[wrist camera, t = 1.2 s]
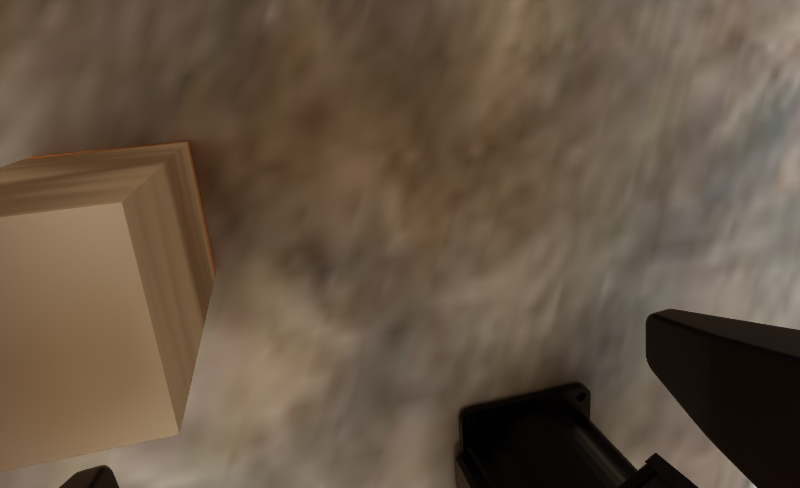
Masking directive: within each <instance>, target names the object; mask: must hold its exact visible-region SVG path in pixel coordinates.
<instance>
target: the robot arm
mask: <svg viewBox="0 0 800 488" xmlns="http://www.w3.org/2000/svg"><path fill="white" fill-rule="evenodd" d="M646 358H647V362H648V364H649V366H650V368H651V370H652V371H653V372H654V373H655V375H656V376H657V377H658V378H659V379H660V381H661V382H662V383H663V384H664V386H665V387H666V388H667V389H668V390H669V392H670V393H671V394H672V395H673V396H674V398H675V399H676V400H677V401H678V403H679V404H680V405H681V406H682V407H683V409H684V410H685V411H686V412H687V414H688V415H689V416H690V417H691V418H692V420H693V421H694V422H695V423H696V424H697V426H698V427H699V428H700V429H701V430H702V431H703V433H704V434H705V435H706V436H707V437H708V438H709V439H710V440H711V441H712V442H713V443H714V444H715V446H716V447H717V448H718V449H719V450H720V451H721V452H722V453H723V454H724V455H725V456H726V457H727V458H728V459H729V460H730V461H731V462H732V463H733V464H734V465H735V466H736V467H737V468H738V469H739V470H740V471H741V472H742V473H743V474H744V475H745V476H746V477H747V478H748V479H749V480H750V481H751V482H752V483H753V484H754V485H755V486H756V487H757V488H800V330H796V329H790V328H784V327H778V326H772V325H766V324H760V323H754V322H748V321H742V320H736V319H730V318H724V317H718V316H712V315H706V314H700V313H694V312H688V311H682V310H676V309H666V310H663V311H659V312H656V313H652V314H650V315H649V316H648V317H647V319H646ZM579 393H581V394H580V395H579V396H578V397H577V395H578V394H579ZM471 417H474V419H473V420H472V421H470V422H467V421H468V419H469V418H471ZM459 429H460V448H461V453H458V455H457V457H456V458H455V463H456V480H457V488H698V487H697V486H696V485H695V484H693V483H692V482H691V481H690V480H688V479H687V478H686V477H685V476H684V475H682V474H681V473H680V472H679V471H678V470H676V469H675V468H674V467H673V466H671V465H670V464H669V463H668V462H667V461H665V460H664V459H663V458H662V457H660V456H659V455H658V454H657V453H655V454H653V455H652V456H651V457H650V458H648V459H647V460H646V461H645V462H646V464H645V465H644V466H643V467H642V468H640V469H639V470H637V469H636V468H635V467H634V466H633V465H632V464H631V463H630V462H629V461H628V460H627V459H626V458H625V457H624V456H623V454H622V453H621V452H620V451H619V450H618V449H617V448H616V447H615V446H614V445H613V444H612V443H611V442H610V441H609V440H608V439H607V438H606V437H605V436H604V435H603V434H602V432H601V431H600V430H599V429H598V428H597V427H596V426H595V425H594V424H593V423H592V422H591V421H590V391H589V390H588V389H587V388H586V387H585V386H584V385H583V384H581V383H577V384H572V385H568V386H563V387H559V388H554V389H550V390H545V391H541V392H536V393H532V394H528V395H523V396H519V397H514V398H510V399H505V400H501V401H496V402H492V403H487V404H483V405H478V406H474V407H469V408H467V409H465V410H463V411H462V412H461V414H460V416H459ZM59 488H119V486H118V483H117V481H116V478H115V476H114V474H113V472H112V470H111V469H110V468H109V467H108V466H106V465H101V466H97V467H94V468H90V469H86V470H83V471H79V472H77V473H75V474H74V475H73V476H72V477H71V478H70V479H68V480H67V481H66V482H65V483H64V484H63V485H62V486H61V487H59Z"/></svg>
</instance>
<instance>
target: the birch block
mask: <svg viewBox="0 0 800 488" xmlns="http://www.w3.org/2000/svg"><path fill="white" fill-rule="evenodd" d="M215 274H216V272H215V267H214V262H213V257H212V252H211V247H210V242H209V237H208V232H207V227H206V222H205V217H204V212H203V207H202V202H201V197H200V192H199V187H198V182H197V177H196V172H195V167H194V162H193V157H192V152H191V147H190V142H189V140H187V141H177V142H168V143H158V144H149V145H139V146H130V147H120V148H111V149H101V150H92V151H82V152H73V153H63V154H54V155H44V156H35V157H30V158H27V159H24V160H21V161H18V162H16V163H13V164H10V165H7V166H4V167H2V168H0V472H3V471H8V470H12V469H17V468H22V467H27V466H31V465H36V464H41V463H46V462H51V461H55V460H60V459H65V458H70V457H75V456H79V455H84V454H89V453H94V452H98V451H103V450H108V449H113V448H118V447H122V446H127V445H132V444H137V443H141V442H146V441H151V440H156V439H161V438H165V437H170V436H175V435H179V434H180V430H181V425H182V421H183V416H184V412H185V407H186V403H187V398H188V394H189V390H190V385H191V381H192V376H193V372H194V367H195V363H196V358H197V354H198V349H199V345H200V341H201V336H202V332H203V327H204V323H205V318H206V314H207V309H208V305H209V300H210V296H211V292H212V287H213V283H214V278H215Z"/></svg>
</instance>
